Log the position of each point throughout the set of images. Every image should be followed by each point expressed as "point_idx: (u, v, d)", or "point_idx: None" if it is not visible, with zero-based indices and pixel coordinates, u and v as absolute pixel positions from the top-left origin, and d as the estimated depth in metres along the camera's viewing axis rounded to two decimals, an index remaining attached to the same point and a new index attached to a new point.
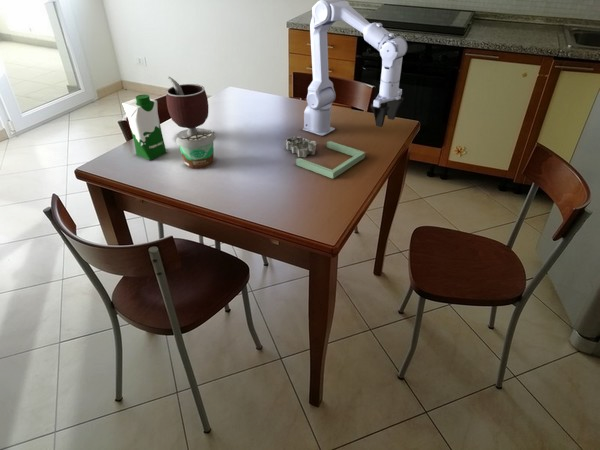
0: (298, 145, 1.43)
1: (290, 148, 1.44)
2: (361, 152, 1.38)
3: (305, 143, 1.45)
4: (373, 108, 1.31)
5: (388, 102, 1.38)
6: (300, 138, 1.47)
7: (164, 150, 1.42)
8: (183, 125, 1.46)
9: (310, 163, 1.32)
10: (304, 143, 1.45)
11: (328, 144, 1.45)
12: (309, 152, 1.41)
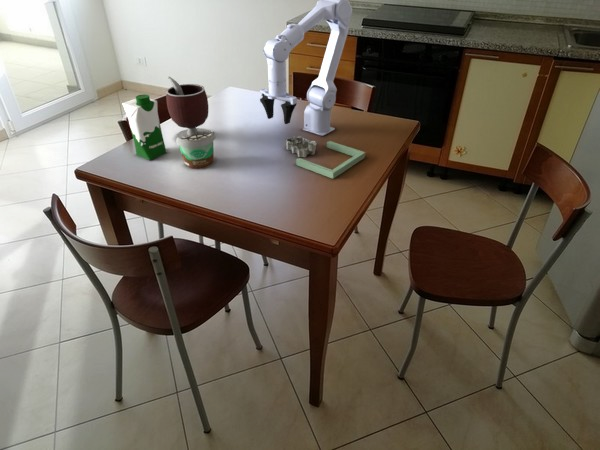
0: (298, 145, 1.43)
1: (290, 148, 1.44)
2: (361, 152, 1.38)
3: (305, 143, 1.45)
4: None
5: None
6: (300, 138, 1.47)
7: (164, 150, 1.42)
8: (183, 125, 1.46)
9: (310, 163, 1.32)
10: (304, 143, 1.45)
11: (328, 144, 1.45)
12: (309, 152, 1.41)
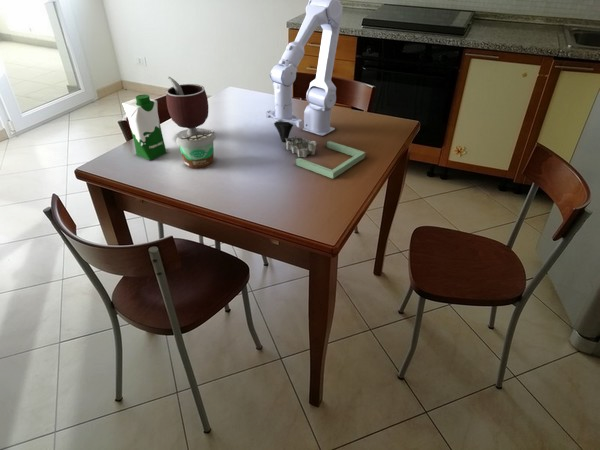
0: (298, 145, 1.43)
1: (290, 148, 1.44)
2: (361, 152, 1.38)
3: (305, 143, 1.45)
4: None
5: None
6: (300, 138, 1.47)
7: (164, 150, 1.42)
8: (183, 125, 1.46)
9: (310, 163, 1.32)
10: (304, 143, 1.45)
11: (328, 144, 1.45)
12: (309, 152, 1.41)
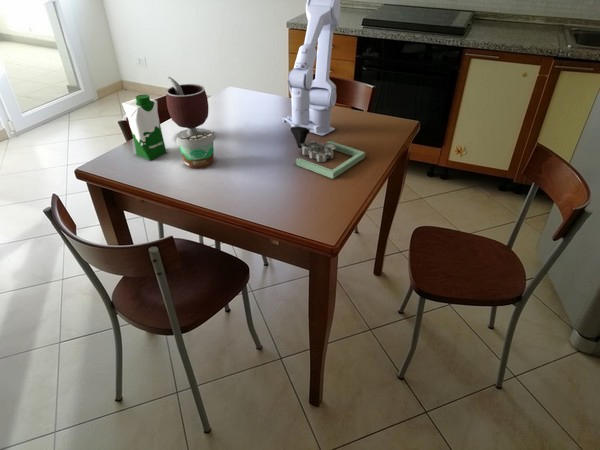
0: (315, 150, 1.40)
1: (306, 153, 1.41)
2: (361, 152, 1.38)
3: (321, 147, 1.42)
4: None
5: None
6: (314, 142, 1.44)
7: (164, 150, 1.42)
8: (183, 125, 1.46)
9: (310, 163, 1.32)
10: (320, 147, 1.42)
11: (328, 144, 1.45)
12: (328, 156, 1.38)
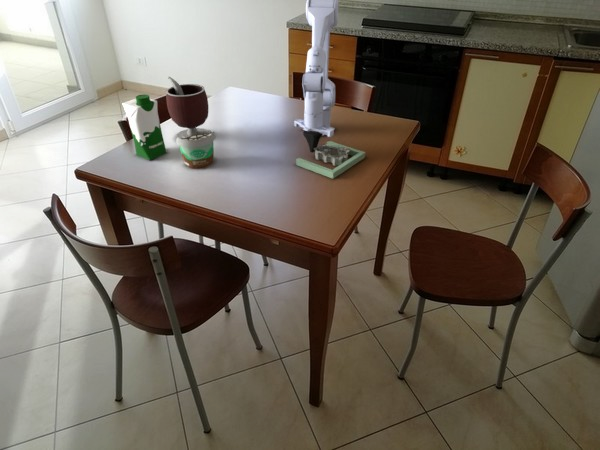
0: (328, 153, 1.38)
1: (320, 158, 1.38)
2: (361, 152, 1.38)
3: (333, 151, 1.40)
4: None
5: None
6: (326, 146, 1.41)
7: (164, 150, 1.42)
8: (183, 125, 1.46)
9: (310, 163, 1.32)
10: (332, 151, 1.40)
11: (328, 144, 1.45)
12: (342, 159, 1.37)
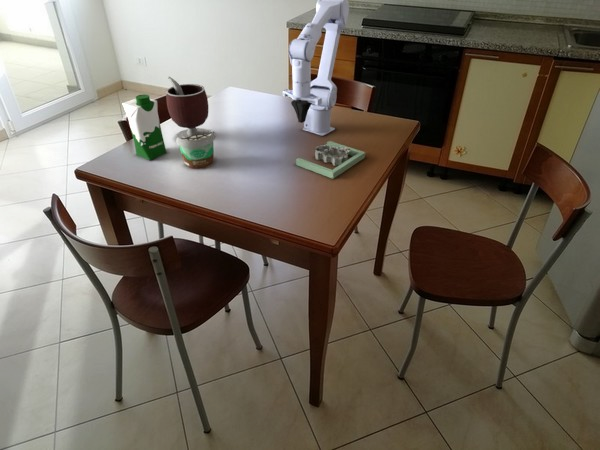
0: (328, 153, 1.38)
1: (320, 158, 1.38)
2: (361, 152, 1.38)
3: (333, 150, 1.40)
4: None
5: None
6: (326, 146, 1.41)
7: (164, 150, 1.42)
8: (183, 125, 1.46)
9: (310, 163, 1.32)
10: (332, 151, 1.40)
11: (328, 144, 1.45)
12: (342, 159, 1.36)
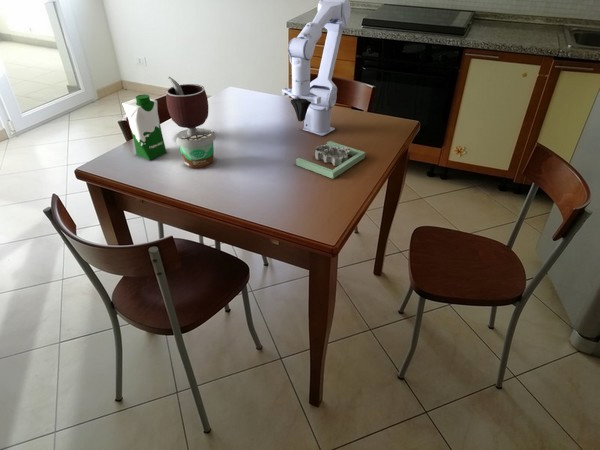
0: (328, 153, 1.38)
1: (320, 158, 1.38)
2: (361, 152, 1.38)
3: (333, 151, 1.40)
4: None
5: None
6: (326, 146, 1.41)
7: (164, 150, 1.42)
8: (183, 125, 1.46)
9: (310, 163, 1.32)
10: (332, 151, 1.40)
11: (328, 144, 1.45)
12: (342, 159, 1.36)
